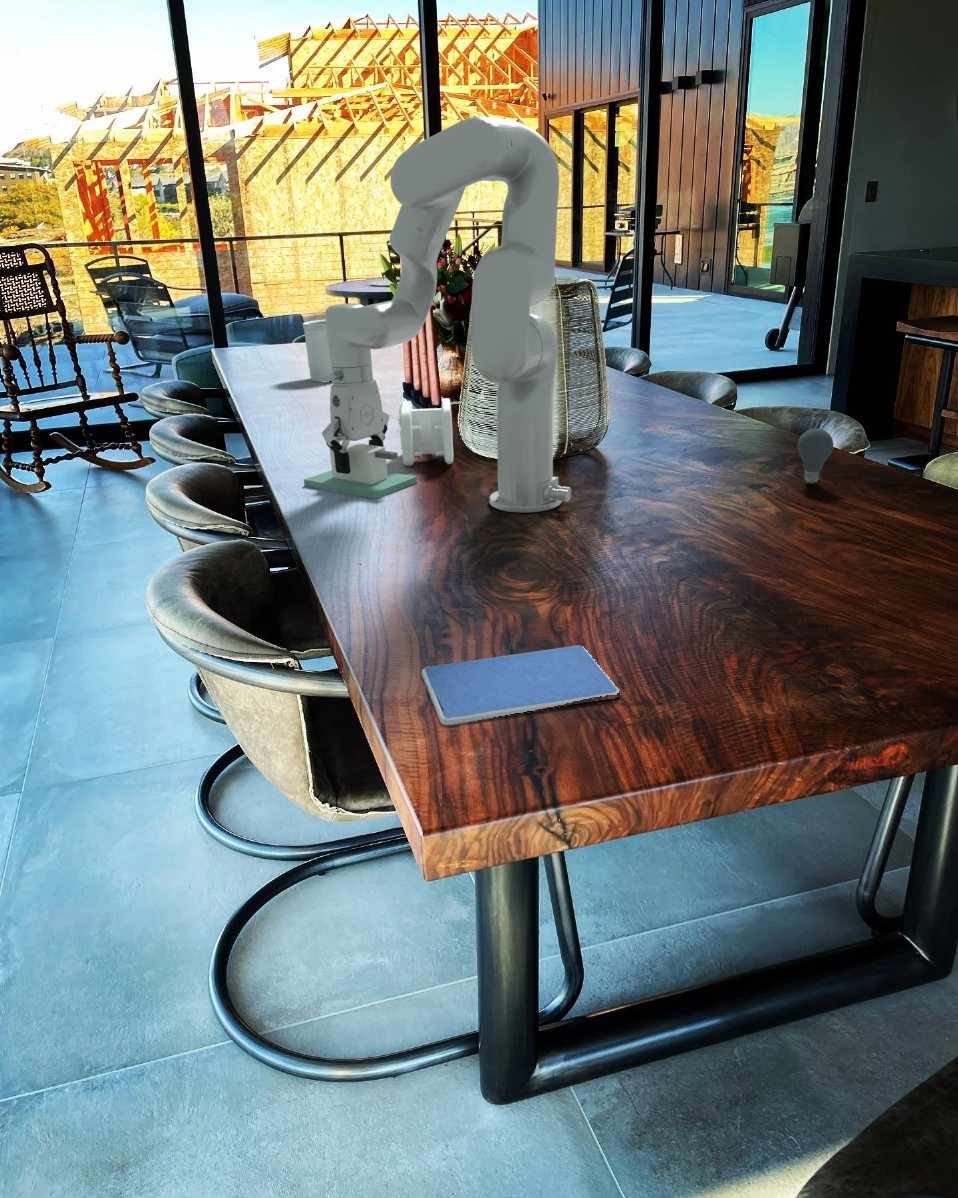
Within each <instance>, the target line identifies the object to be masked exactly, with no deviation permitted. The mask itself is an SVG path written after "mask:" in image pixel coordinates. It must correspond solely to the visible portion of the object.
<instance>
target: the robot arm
mask: <svg viewBox="0 0 958 1198" xmlns="http://www.w3.org/2000/svg"><path fill="white" fill-rule="evenodd" d="M559 172H560V171H559V165H558V162H557V158H556V155H555V153H554V151H553V149H552V147H551V145H550V144H549V142H548V141H547V139H545V138H544V137H543V136H542V135H541V134H540V133H539V132H537V131H536V130H535V129H533V128H531V127H529V126H527V125H525V124H523V123H520V122H519V121H514V120H510V119H505V118H504V119H503V118H494V117H487V116H472V117H468V118H465V119H462V120H461V121H458V122H457V123H454V124H452V125H450V126H449V127H446V128H445V129H443V130H441V131H440V132H437V133H436V134H433V135H432V136H430V137H428V138H426V139H424V140H422V141H420V142H418V143H416V144H415V145H413V146H411V147H409V148H408V149H406V150H404V152H402V153H401V154H400V155H399V156H398V157H397V159H396V160H395V162H394V164H393V166H392V168H391V172H390V181H389V182H390V189H391V190H392V191H391V192H392V194H393V196H394V197H395V199H396V201H398V203H400V204H401V205H400V209H399V211H398V214H397V216H396V219H395V221H394V224H393V227H392V229H391V232H390V235H389V244H390V246H391V248H392V249H393V251H394V252H396V253H397V255H399V258H400V260H401V261H400V262H401V274H400V279H399V282H398V284H397V287H396V290H395V292H394V295H393V297H392V299H391V300H387V301H381V302H378V303H373V304H369V305H363V304H360V303H355V302H354V303H352V302H351V303H338V304H334V305H329V306H327V308H326V310H325V311H324V313H325V314H324V316H325V317H324V320H326V330H327V340H328V349H329V359H330V368H331V374H330V379H331V380H332V382H331V385H330V390H329V391H330V395H329V407H330V408H329V411H330V415H329V416H330V423H328V425H327V426H326V427H325V428H324V429H323V431H322V433H321V435H322V437H323V439H324V442H325V444H326V446H327V447H328V448H329V450H330V449H331V451H332V452H334V458H335V468H336V472H337V473H343V474H349V473H350V472H351V470H350V460H349V453H348V452H346V450H347V447H348V445H349V442H357V441H360V440H362V439H366V438H370V439H368V445H373V446H380V447H385V446H384V445H385V444H384V441H385V440H386V434H387V430H388V424H389V421H390V419H389V418H390V414H388V413H386V412H384V410H383V405H382V399H381V395H380V394H381V393H380V390H379V386H378V383H377V380H376V379H374V374H373V363H372V350H382V349H386V348H391V347H393V346H397V345H401V344H405V343H408V342H410V341H412V340H413V339H414V338H416V337H417V335H418V334H419V333H420V331H421V330H422V328H423V327H424V324H425V322H426V320H427V317H428V315H429V313H430V310H431V308H432V305H433V303H434V300H435V296H436V293H437V291H436V290H437V284H438V266H437V261H438V258H439V255H440V252H441V250H442V247H443V244H444V242H445V239H446V237H447V235H448V233H449V230H450V227H451V225H452V223H453V220H454V218H455V215H456V213H457V211H458V208H459V205H460V203H461V200H462V197H463V196H464V193H465V190H466V188H468V187H469V186H471V185H474V184H476V183H478V182H502V183H505V184H506V186H507V194H506V196H505V201H504V204H503V208H502V214H501V215H502V217H501V222H502V223H501V224H502V225H501V226H502V229H501V241H500V242H501V243H500V245H498V246H495V247H494V248H491V249H489V250H488V251H487V252H486V253H484V255H483V256H482V257H481V258H480V260H479V262H478V263H477V265H476V267H475V271H474V274H473V277H472V278H473V280H472V286H471V288H472V289H471V291H472V292H471V322H470V323H471V326H470V327H471V328H470V330H471V331H470V332H471V333H470V345H471V347H470V348H471V357H472V362H473V364H474V366H475V369H476V370H477V371H478V373H479V375H481V377H482V378H484V379H485V380H487V381H488V382H491V383H494V384H497V389H496V401H495V402H496V408H495V409H496V442H497V443H496V448H497V449H496V450H497V451H496V453H497V490H496V491H494V492H492V493H491V494H490V496H489V504H490V506H491V507H493V508H495V509H497V510H499V511H504V512H510V513H523V514H527V513H538V512H539V513H540V512H544V511H549V510H553V509H555V508H556V507H559V506H560V505H561V504H562V502H569V501H570V500H571V498H572V487H571V486H570V487H569V486H563V485H562V486H560V484H559V477H558V476H554V475H553V474H554V473H553V472H554V471H553V470H554V463H553V462H554V461H553V460H554V459H553V458H554V455H553V454H554V453H553V451H554V447H553V446H554V437H553V436H554V435H553V434H554V431H553V429H554V428H553V427H554V425H553V423H554V422H553V421H554V385H555V376H556V368H557V367H556V366H557V359H558V341H557V336H556V333H555V330H554V329H553V327H552V326H551V324H550V323H549V322H548V321H547V320H546V319H544V318H543V317H541V316H539V315H536V314H532V313H530V311H531V310H530V309H531V307H532V306H535V305H537V304H539V303H541V302H543V301H544V300H545V299H547V297H549V296H550V294H551V292H552V290H553V288H554V282H555V274H556V268H555V267H556V253H557V252H556V249H557V248H556V246H557V227H558V223H557V222H558V220H557V219H558V204H559V193H560V192H559V190H560V189H559V188H560V173H559ZM340 443H342V444H341V445H340Z"/></svg>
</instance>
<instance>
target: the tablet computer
mask: <svg viewBox="0 0 958 1198" xmlns="http://www.w3.org/2000/svg"><path fill="white" fill-rule="evenodd" d="M584 647H585V646H582V645H577V644H576V645H571V646H570V645H569V646H563V647H557V648H551V649H545V650H536V651H530V652H522V653H515V654H509V655H501V656H496V657H488V658H481V659H474V660H466V661H459V662H453V663H447V664H439V665H431V666H426V667H424V668H423V669H422V670H421V676H422V678H423V680H424V684H425V687H426V689H427V691H428V694H429V696H430V699H431V702H432V704H433V706H434V710H435V712H436V715H437V717H438V720H439V722H440V724H442V725H444V726H455V725H460V724H462V725H463V724H466V723H473V722H479V721H484V720H489V718H490V719H494V717H496V718H500V717H499V716H502V717H506V716H505V715H508V716H511V715H510V714H515V713H521V714H524V713H523V712H527V711H534V712H536V711H535V710H537V709H543V708H547V707H554V706H558V705H564V704H566V703H572V702H574V701H580V700H583V699H589V698H592V697H593V698H594V697H600V696H602V697H604V696H606V695H617V693H619V691H620V689H619V688H618V687H617V685H616V684H615V683H614V682H613V681H612V679H611V678H610V677H609V675H608V674H607V673H606V671H604V669H603V668H602V667H601V666H600V665H598V664H599V663H598V662H597V661H596V659H595V658H594V657H593V656H592V654H591V653H590V652H589V651H588V649H587V648H586V647H585V648H586V649H587V650H586V649H585V648H584ZM588 652H589V653H590V654H589V653H588ZM592 657H593V658H594V659H593V658H592ZM595 661H596V662H595ZM597 663H598V664H597ZM600 667H601V668H600ZM602 669H603V670H602ZM603 671H604V672H603ZM605 673H606V674H605ZM610 679H611V680H610ZM615 685H616V686H615ZM593 698H592V699H593ZM527 713H528V712H527ZM515 715H516V714H515ZM483 719H484V720H483ZM478 720H479V721H478Z"/></svg>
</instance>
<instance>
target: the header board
mask: <svg viewBox="0 0 958 1198" xmlns="http://www.w3.org/2000/svg"><path fill="white" fill-rule="evenodd" d="M387 476H388V478H387V479H385V480H382V481H380V482H377V483H375V484H367V483H362V482H356V481H350V480H344V479H339V478H333V474H332V469H331V470H328V471H326V472H322V473H320V474H317V475H314V476H311V477H308V478H304V479H303V485H304V486H305V487H310V488H314V489H315V488H316V489H321V490H324V491H332V492H337V493H341V492H342V493H343V494H348V495H354V496H358V497H364V498H370V499H375V500H377V499H379V498H382V497H385V496H387V495H390V494H392V493H395V492H397V491H400V490H403V489H405V488H408V487H410V486H412V485H415V484H417V483H418V476H415V475H407V474H401V473H398V472H397V473H395V472H391V471H387Z"/></svg>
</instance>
